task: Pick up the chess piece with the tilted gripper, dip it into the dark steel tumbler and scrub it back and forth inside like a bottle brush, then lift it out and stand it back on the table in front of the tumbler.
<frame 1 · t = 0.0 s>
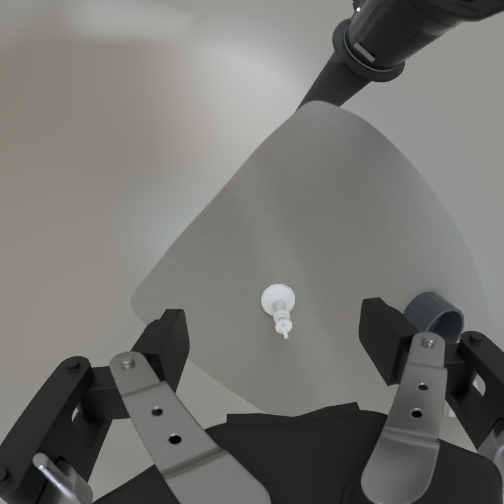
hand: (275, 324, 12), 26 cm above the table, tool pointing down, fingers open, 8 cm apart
chess piece: (277, 299, 40), on the table
tumbler: (422, 316, 41), on the table
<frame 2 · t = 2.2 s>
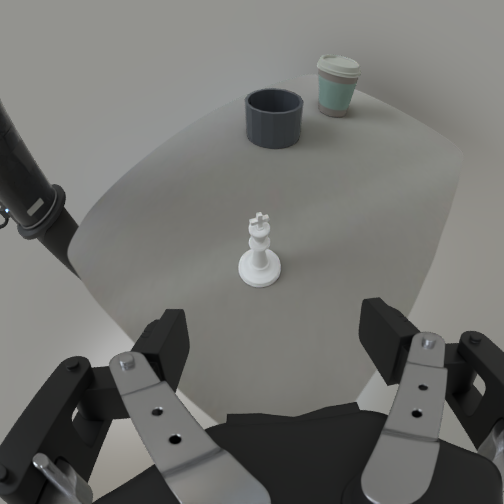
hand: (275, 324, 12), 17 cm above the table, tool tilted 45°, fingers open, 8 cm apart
chess piece: (259, 268, 32), on the table
tumbler: (273, 133, 46), on the table
coffee cup: (332, 111, 50), on the table
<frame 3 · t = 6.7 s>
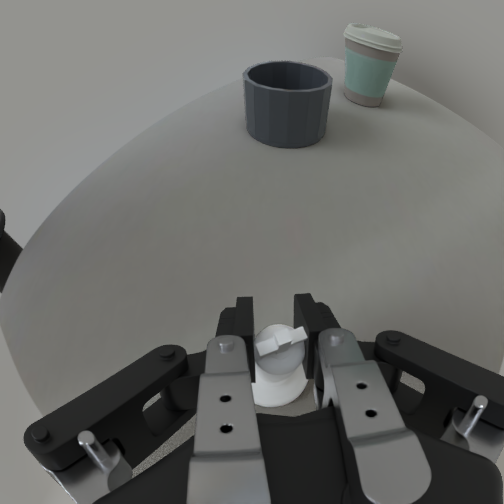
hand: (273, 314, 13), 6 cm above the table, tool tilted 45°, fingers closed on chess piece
chess piece: (271, 371, 17), on the table, touching gripper
tumbler: (285, 125, 30), on the table
coffee cup: (362, 99, 35), on the table
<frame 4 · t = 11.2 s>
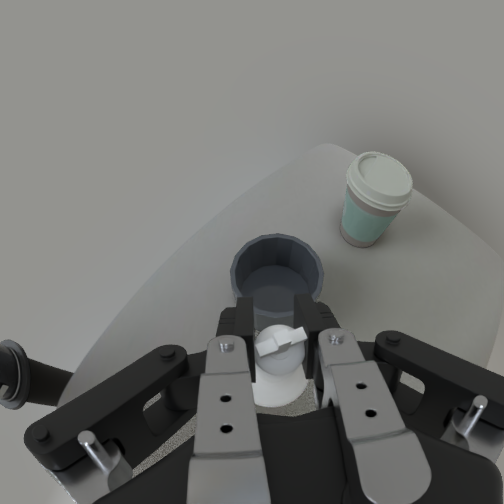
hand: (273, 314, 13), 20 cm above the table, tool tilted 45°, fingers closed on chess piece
chess piece: (272, 371, 17), point 13 cm above the table, touching gripper
tumbler: (274, 297, 34), on the table
coffee cup: (358, 231, 39), on the table
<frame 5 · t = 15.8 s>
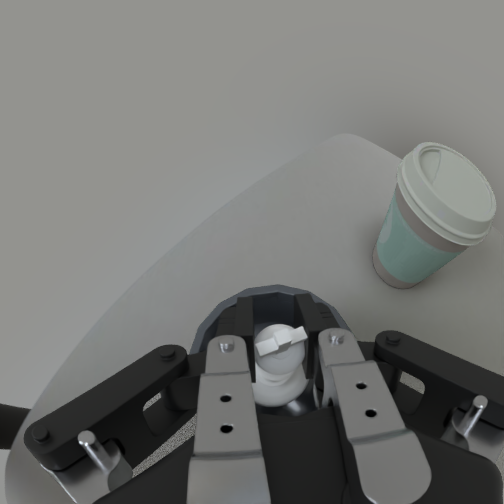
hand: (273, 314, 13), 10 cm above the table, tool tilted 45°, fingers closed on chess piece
chess piece: (272, 371, 17), point 4 cm above the table, touching gripper
tumbler: (271, 375, 20), on the table
coffee cup: (397, 263, 25), on the table
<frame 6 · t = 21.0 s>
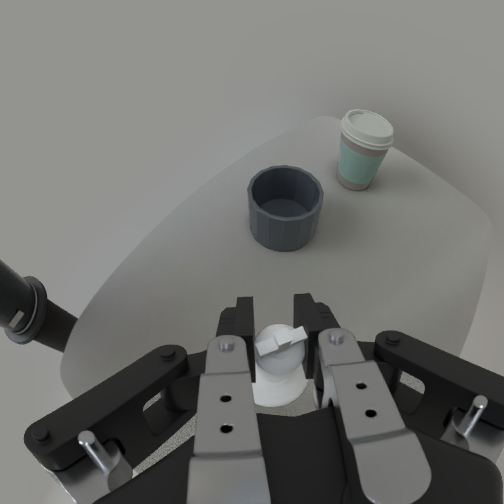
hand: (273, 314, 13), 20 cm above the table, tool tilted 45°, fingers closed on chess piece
chess piece: (272, 371, 17), point 14 cm above the table, touching gripper
tumbler: (282, 223, 40), on the table
coffee cup: (352, 179, 44), on the table
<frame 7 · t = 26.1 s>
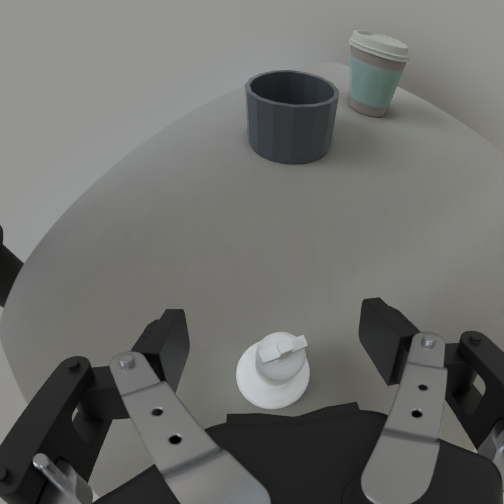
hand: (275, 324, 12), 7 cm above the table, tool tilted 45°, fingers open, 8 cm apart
chess piece: (272, 374, 17), on the table
tumbler: (289, 138, 30), on the table
coffee cup: (366, 108, 35), on the table
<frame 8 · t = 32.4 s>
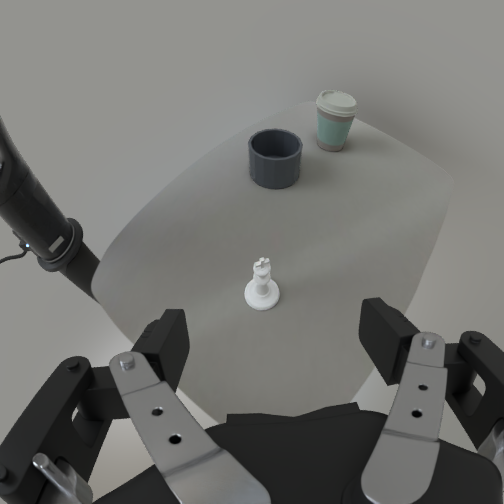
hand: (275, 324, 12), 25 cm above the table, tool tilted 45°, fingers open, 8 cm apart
chess piece: (262, 294, 39), on the table
tumbler: (274, 171, 51), on the table
coffee cup: (329, 144, 56), on the table
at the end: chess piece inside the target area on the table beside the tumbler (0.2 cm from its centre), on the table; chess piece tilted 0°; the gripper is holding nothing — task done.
